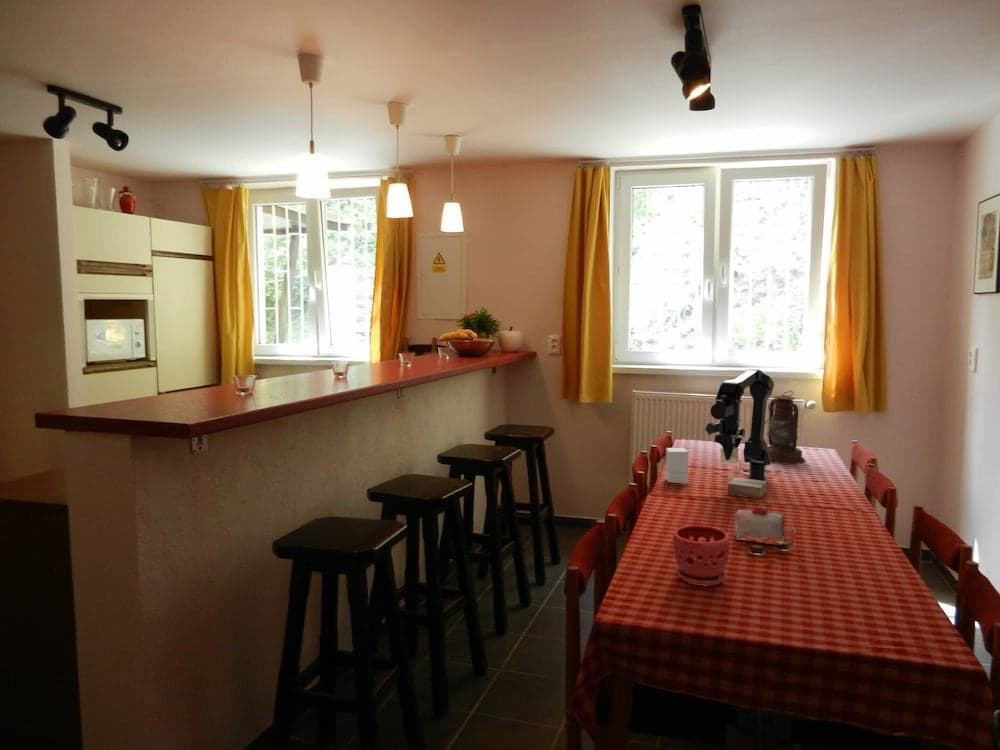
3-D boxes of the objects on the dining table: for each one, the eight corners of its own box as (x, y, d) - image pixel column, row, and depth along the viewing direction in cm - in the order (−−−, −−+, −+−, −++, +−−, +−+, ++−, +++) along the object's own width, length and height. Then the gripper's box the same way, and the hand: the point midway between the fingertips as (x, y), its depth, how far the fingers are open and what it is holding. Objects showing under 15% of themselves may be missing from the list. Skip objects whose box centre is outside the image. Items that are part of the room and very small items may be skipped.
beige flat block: (735, 487, 254) (735, 477, 254) (766, 492, 248) (766, 481, 248) (727, 494, 245) (728, 483, 244) (760, 499, 239) (760, 487, 239)
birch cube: (724, 459, 253) (724, 446, 252) (738, 461, 250) (738, 447, 249) (720, 462, 248) (720, 448, 248) (734, 463, 246) (734, 450, 245)
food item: (731, 541, 196) (733, 507, 195) (735, 533, 203) (736, 500, 202) (783, 548, 190) (785, 514, 189) (785, 540, 197) (786, 506, 196)
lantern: (749, 456, 308) (752, 389, 306) (784, 453, 314) (787, 388, 311) (778, 465, 290) (781, 395, 288) (814, 462, 296) (818, 393, 293)
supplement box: (684, 480, 266) (685, 447, 264) (687, 484, 258) (688, 451, 257) (665, 479, 266) (665, 447, 265) (667, 484, 259) (668, 451, 258)
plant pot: (685, 565, 177) (687, 520, 176) (736, 578, 169) (737, 531, 168) (662, 581, 167) (664, 533, 166) (715, 595, 159) (717, 545, 158)
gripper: (715, 410, 260) (714, 451, 261) (700, 417, 244) (699, 460, 246) (746, 413, 253) (744, 454, 255) (732, 420, 238) (731, 464, 240)
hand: (729, 458), depth 249 cm, fingers closed on birch cube, 5 cm apart
